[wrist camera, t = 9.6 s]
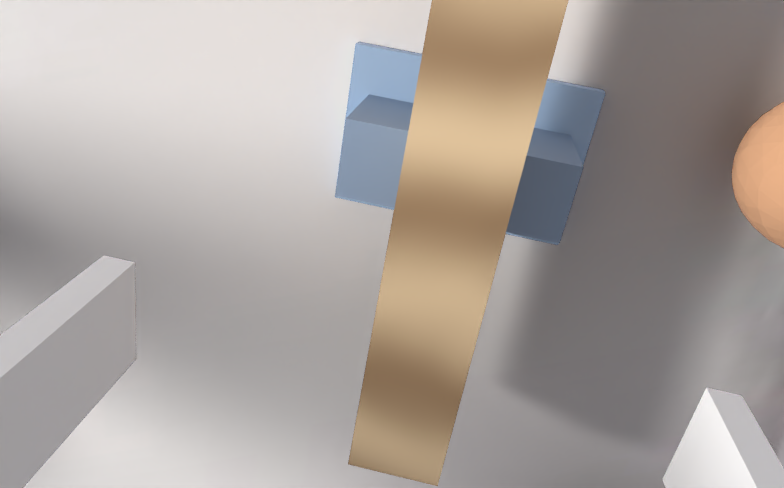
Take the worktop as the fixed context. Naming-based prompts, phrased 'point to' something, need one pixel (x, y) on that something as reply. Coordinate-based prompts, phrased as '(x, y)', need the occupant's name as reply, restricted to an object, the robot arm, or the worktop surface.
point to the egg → (762, 175)
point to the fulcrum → (390, 130)
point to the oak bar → (450, 223)
